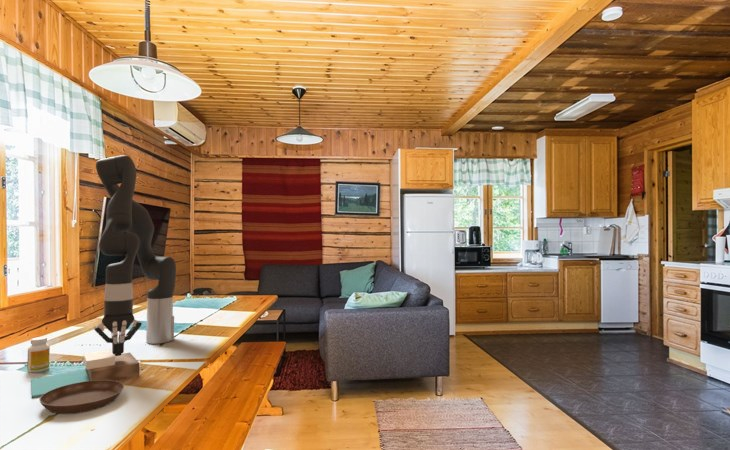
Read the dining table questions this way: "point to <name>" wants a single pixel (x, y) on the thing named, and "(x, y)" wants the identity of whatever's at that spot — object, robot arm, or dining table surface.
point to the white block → (99, 359)
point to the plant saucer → (81, 396)
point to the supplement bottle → (38, 355)
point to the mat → (56, 382)
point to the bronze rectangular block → (116, 369)
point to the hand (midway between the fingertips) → (117, 355)
